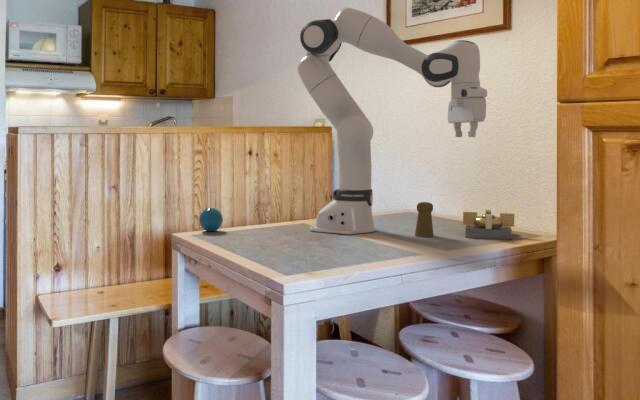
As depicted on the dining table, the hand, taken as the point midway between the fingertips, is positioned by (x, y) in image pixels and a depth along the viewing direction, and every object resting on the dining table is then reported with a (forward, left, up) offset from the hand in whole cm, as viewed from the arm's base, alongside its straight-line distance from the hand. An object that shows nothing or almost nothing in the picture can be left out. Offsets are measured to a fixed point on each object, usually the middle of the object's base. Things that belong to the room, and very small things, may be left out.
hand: (465, 137), depth 184 cm
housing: (+8, +4, -32) cm, 33 cm away
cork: (-12, -3, -32) cm, 34 cm away
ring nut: (+8, +4, -29) cm, 30 cm away
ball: (-82, -15, -32) cm, 89 cm away
